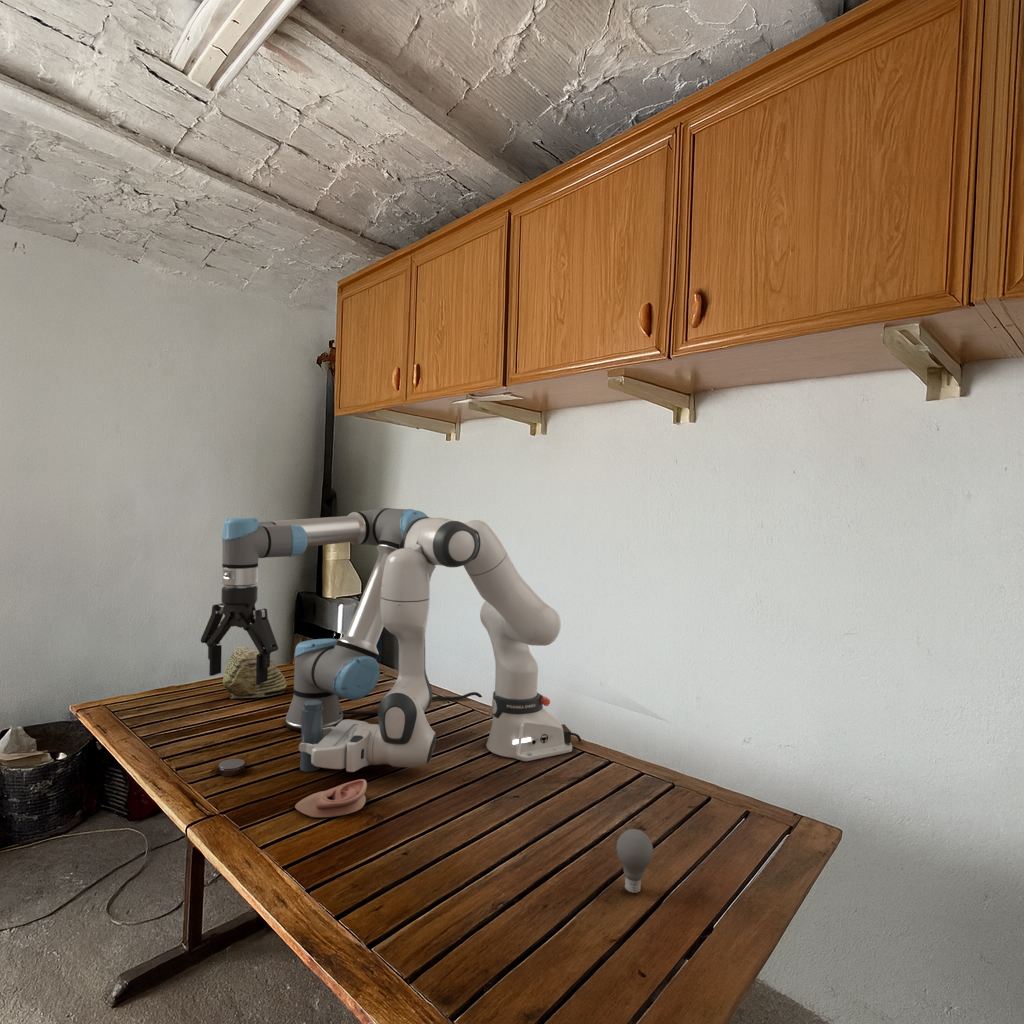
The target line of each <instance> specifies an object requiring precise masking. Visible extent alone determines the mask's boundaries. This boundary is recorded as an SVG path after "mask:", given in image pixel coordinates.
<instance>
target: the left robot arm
mask: <svg viewBox="0 0 1024 1024" xmlns="http://www.w3.org/2000/svg"><path fill="white" fill-rule="evenodd" d="M422 517H429V516H428V515H427V514H426V513H424V512H423V511H421V510H418V509H417V510H416V509H413V508H391V507H381V508H375V509H374V508H373V509H369V510H361V511H352V512H350V513H349V514H348V515H343V516H328V517H313V518H297V519H296V518H295V519H282V520H281V519H280V520H271V521H260V520H259V519H258V518H257V517H244V516H243V517H241V516H240V517H237V516H236V517H235V516H233V517H227V518H226V519H224V521H223V526H222V536H221V540H222V542H221V543H222V547H221V548H222V555H221V556H222V558H221V559H222V563H221V566H222V567H221V585H223V586H222V588H221V598H220V599H221V603H216V604H213V605H212V606H211V614H210V617H209V619H208V621H207V624H206V625H205V629H204V630H203V633H202V635H201V638H200V642H201V644H206V646H207V659H208V661H209V669H208V670H209V675H208V676H209V677H210V676H211V677H213V676H216V675H219V674H222V648H223V646H222V644H221V641H222V640H223V639H224V637H225V636H226V635H227V633H228V632H229V630H230V629H231V628H232V627H237V628H239V629H240V628H242V629H243V631H245V632H247V635H248V636H249V637H250V639H251V642H252V643H253V644H254V646H255V647H256V649H258V651H259V654H257V663H256V684H260V683H263V682H266V681H268V668H269V666H270V658H271V654H272V653H274V652H276V651H278V650H279V646H278V642H277V640H276V637H275V634H274V632H273V629H272V627H271V624H270V621H269V617H268V609H267V608H265V607H264V608H261V609H257V608H256V603H257V602H258V590H259V588H258V586H257V584H258V583H259V559H265V558H285V557H289V558H292V557H295V556H301V555H303V554H304V553H305V551H306V550H307V547H317V546H327V545H336V544H337V545H338V544H345V543H350V544H351V545H353V546H358V545H361V546H362V545H368V546H375V547H376V549H377V551H378V556H377V558H376V561H375V563H374V566H373V569H372V570H371V573H370V576H369V578H368V581H367V583H366V585H365V588H364V590H363V593H362V595H361V598H360V600H359V603H358V605H357V607H356V609H355V612H354V615H353V617H352V619H351V622H350V624H349V627H348V630H347V632H346V634H345V635H344V636H341V637H340V638H338V639H337V638H317V639H308V640H304V641H300V642H299V643H297V645H296V646H295V650H294V655H293V657H294V672H293V673H294V674H293V695H292V696H293V697H292V699H291V702H290V704H289V708H288V711H287V713H286V715H285V726H286V728H287V729H289V730H291V731H294V732H295V731H296V732H301V724H302V708H303V707H304V702H305V701H308V700H320V701H322V707H323V708H324V709H323V728H327V727H332V726H333V727H336V726H337V725H338V724H339V723H340V722H341V721H342V720H344V715H358V716H361V715H362V716H365V715H367V716H371V715H375V716H376V715H378V710H343V709H342V706H341V702H340V699H339V698H341V699H344V700H346V699H347V700H350V701H357V700H361V699H363V698H364V697H366V696H368V695H370V693H372V691H373V690H374V689H375V688H376V686H377V684H378V682H379V679H380V676H381V670H380V664H379V662H378V661H377V660H378V658H379V654H380V653H379V651H378V648H377V645H378V642H379V640H380V637H381V634H382V632H383V629H384V628H385V627H384V625H383V623H382V617H381V586H382V578H383V572H384V567H385V563H386V559H387V557H388V556H389V554H390V553H392V552H393V551H395V550H398V549H399V544H400V542H401V540H402V536H403V533H404V531H405V529H406V527H407V526H408V524H409V523H410V522H412V521H413V520H415V519H418V518H422ZM401 549H402V546H401ZM471 696H476V697H478V698H483V695H482V694H481V693H479V692H477V691H472V692H468V693H465V694H463V695H457V696H432V701H438V700H439V701H441V700H443V701H444V700H445V701H457V700H463V699H466V698H468V697H471Z"/></svg>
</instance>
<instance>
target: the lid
mask: <svg viewBox="0 0 1024 1024" xmlns="http://www.w3.org/2000/svg"><path fill="white" fill-rule="evenodd" d="M245 770H246V762H245V760H244V759H242V758H230V759H229V758H228V759H226V760H222V761H221V762H219V764H218V767H217V773H218V775H220V776H221V777H233V776H237V775H240V774H242V773H244V771H245Z"/></svg>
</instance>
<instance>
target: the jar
mask: <svg viewBox="0 0 1024 1024" xmlns="http://www.w3.org/2000/svg"><path fill="white" fill-rule="evenodd" d="M323 709H324V708H323V707H322V701H320V700H308V701H305V702H304V707H303V708H302V724H301V731H300V743H302V742H303V741H304V742H309V744H313V745H314V744H318V743H319V742H320V741H321V740H322V739H323V736H322V735H323ZM299 752H300V751H299ZM320 769H322V767H316V766H314V765H313V764H312V763H311V755H310V754H308V753H307V752H300V755H299V770H300V771H301V772H303V773H304V772H305V773H312V772H316V771H319V770H320Z"/></svg>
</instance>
